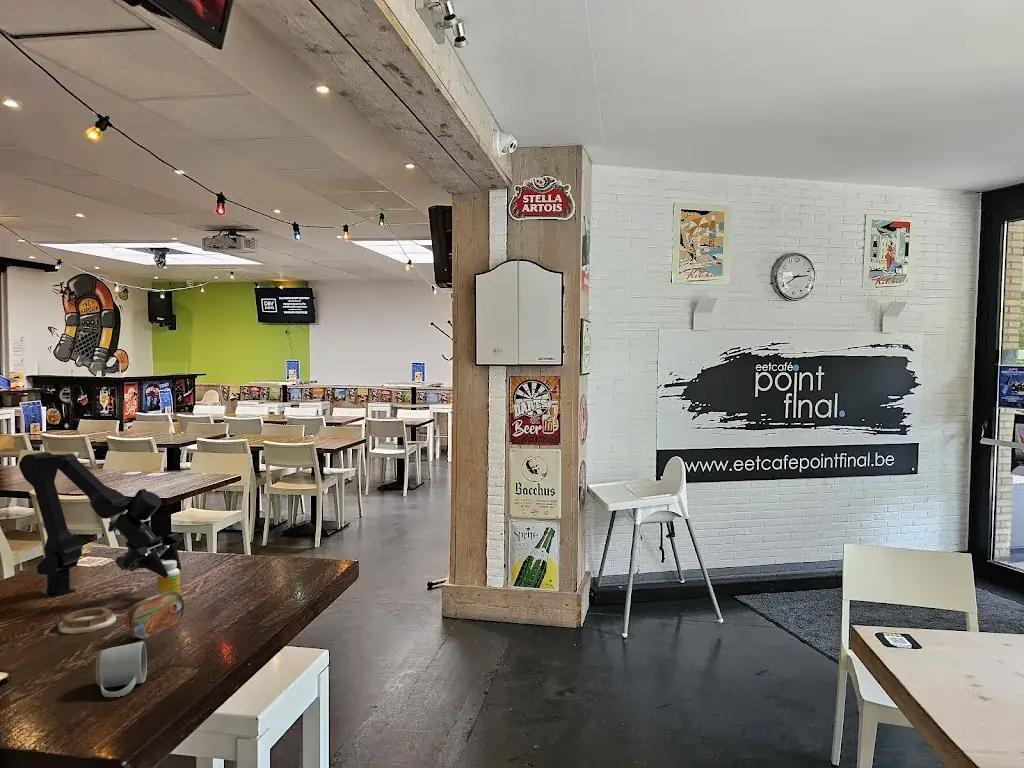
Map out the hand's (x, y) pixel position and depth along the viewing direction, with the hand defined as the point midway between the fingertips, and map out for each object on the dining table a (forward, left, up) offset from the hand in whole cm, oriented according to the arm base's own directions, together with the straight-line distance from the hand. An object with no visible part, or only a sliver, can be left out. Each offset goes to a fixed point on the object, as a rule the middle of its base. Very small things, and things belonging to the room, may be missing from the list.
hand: (173, 573), depth 191 cm
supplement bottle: (-1, -1, -7) cm, 7 cm away
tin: (+20, -16, -7) cm, 26 cm away
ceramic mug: (+43, -35, -7) cm, 55 cm away
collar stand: (+2, -23, -7) cm, 24 cm away
